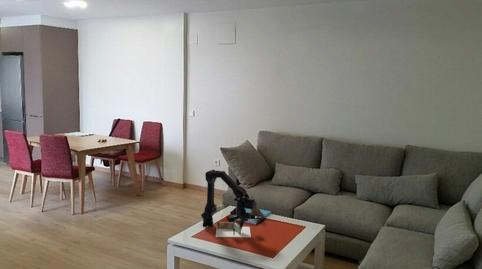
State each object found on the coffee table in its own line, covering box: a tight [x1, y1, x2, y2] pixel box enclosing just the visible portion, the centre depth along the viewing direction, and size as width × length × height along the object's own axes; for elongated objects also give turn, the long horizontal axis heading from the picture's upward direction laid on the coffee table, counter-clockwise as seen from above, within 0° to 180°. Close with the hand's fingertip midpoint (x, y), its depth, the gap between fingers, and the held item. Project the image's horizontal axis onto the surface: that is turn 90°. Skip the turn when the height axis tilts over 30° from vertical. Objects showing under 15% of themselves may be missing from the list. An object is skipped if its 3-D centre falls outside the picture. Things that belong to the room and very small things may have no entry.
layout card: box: [215, 226, 252, 238], centre depth 262 cm, size 23×17×1 cm
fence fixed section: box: [216, 221, 236, 229], centre depth 266 cm, size 12×1×5 cm, turn 92°
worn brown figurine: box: [249, 196, 265, 219], centre depth 289 cm, size 12×6×18 cm, turn 86°
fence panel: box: [234, 222, 241, 234], centre depth 261 cm, size 10×1×4 cm, turn 25°
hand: (240, 229), depth 261 cm, fingers closed
